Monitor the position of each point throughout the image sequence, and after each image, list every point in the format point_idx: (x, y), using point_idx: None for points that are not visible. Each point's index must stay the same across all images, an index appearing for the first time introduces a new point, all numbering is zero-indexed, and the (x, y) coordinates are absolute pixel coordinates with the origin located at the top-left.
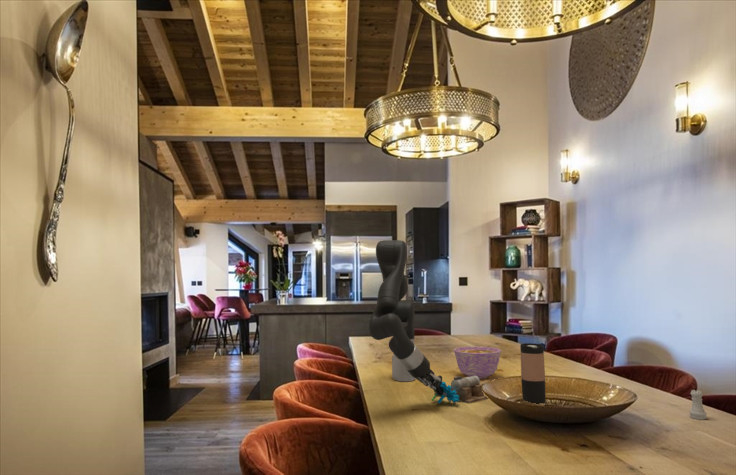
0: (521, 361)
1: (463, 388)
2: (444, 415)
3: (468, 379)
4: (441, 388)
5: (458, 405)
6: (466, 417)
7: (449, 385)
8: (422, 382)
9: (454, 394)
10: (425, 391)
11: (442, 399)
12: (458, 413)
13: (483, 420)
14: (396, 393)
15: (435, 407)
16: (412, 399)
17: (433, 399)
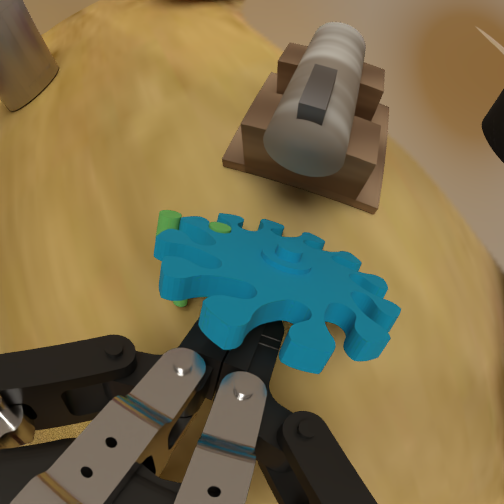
0: None
1: (354, 151)
2: None
3: (353, 67)
4: (277, 354)
5: None
6: (449, 441)
7: (376, 342)
8: (83, 409)
9: (349, 273)
10: (94, 138)
11: None
12: (407, 419)
13: (499, 419)
14: (7, 235)
15: None
16: (71, 295)
17: (186, 300)
